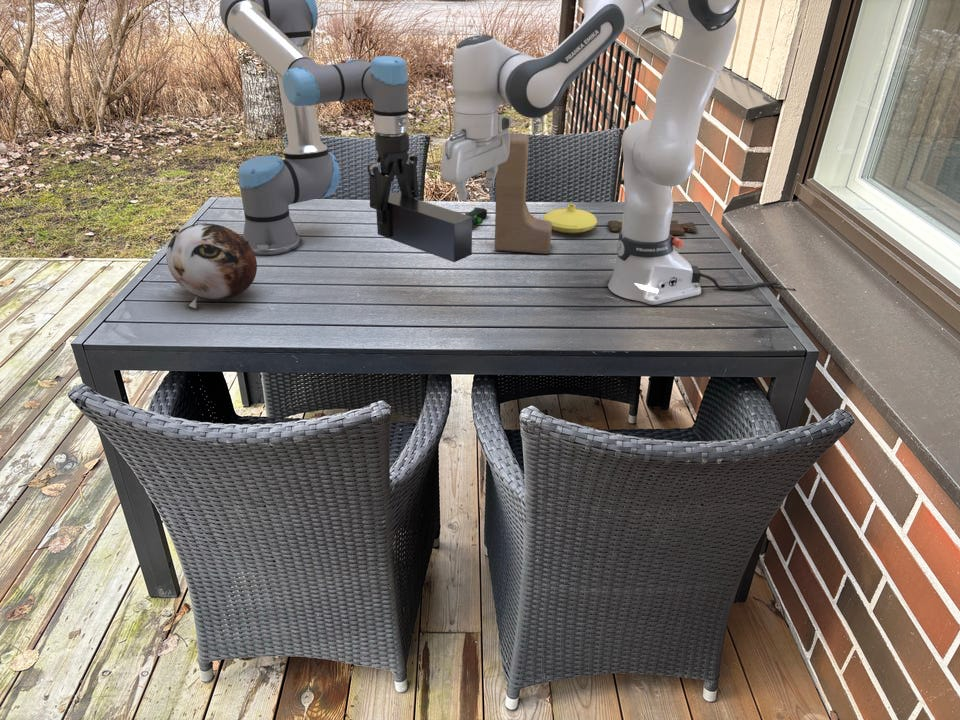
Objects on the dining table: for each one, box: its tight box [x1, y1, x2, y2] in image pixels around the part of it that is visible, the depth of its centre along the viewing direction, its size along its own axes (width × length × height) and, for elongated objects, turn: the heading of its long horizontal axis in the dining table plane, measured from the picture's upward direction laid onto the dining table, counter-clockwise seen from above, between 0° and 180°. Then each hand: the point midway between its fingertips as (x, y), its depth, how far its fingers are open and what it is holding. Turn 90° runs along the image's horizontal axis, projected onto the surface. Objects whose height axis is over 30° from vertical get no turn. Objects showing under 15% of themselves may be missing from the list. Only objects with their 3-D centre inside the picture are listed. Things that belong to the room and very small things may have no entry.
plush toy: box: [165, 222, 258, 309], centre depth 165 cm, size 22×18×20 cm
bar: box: [375, 191, 473, 263], centre depth 163 cm, size 25×6×9 cm, turn 50°
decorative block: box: [494, 133, 553, 255], centre depth 190 cm, size 8×15×30 cm, turn 82°
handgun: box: [464, 207, 488, 229], centre depth 215 cm, size 16×3×15 cm
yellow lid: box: [543, 203, 598, 234], centre depth 209 cm, size 16×16×7 cm
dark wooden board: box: [607, 219, 697, 235], centre depth 211 cm, size 26×2×10 cm
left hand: (396, 232), depth 170 cm, fingers closed on bar, 6 cm apart
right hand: (476, 193), depth 149 cm, fingers open, 8 cm apart
